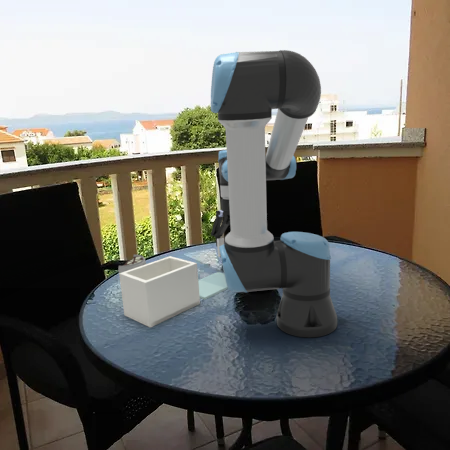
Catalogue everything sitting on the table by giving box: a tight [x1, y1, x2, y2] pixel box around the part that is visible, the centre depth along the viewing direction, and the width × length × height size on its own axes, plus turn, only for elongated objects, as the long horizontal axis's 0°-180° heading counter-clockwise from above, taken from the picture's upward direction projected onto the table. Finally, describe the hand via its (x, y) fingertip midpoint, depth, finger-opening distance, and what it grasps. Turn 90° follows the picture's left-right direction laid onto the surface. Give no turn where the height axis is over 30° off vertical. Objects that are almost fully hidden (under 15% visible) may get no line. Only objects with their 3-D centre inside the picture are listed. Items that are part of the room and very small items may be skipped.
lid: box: [198, 271, 229, 301], centre depth 134 cm, size 12×24×7 cm, turn 137°
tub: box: [118, 255, 201, 328], centre depth 116 cm, size 12×18×12 cm, turn 137°
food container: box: [118, 254, 147, 274], centre depth 133 cm, size 12×6×10 cm, turn 168°
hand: (235, 259), depth 140 cm, fingers open, 13 cm apart
